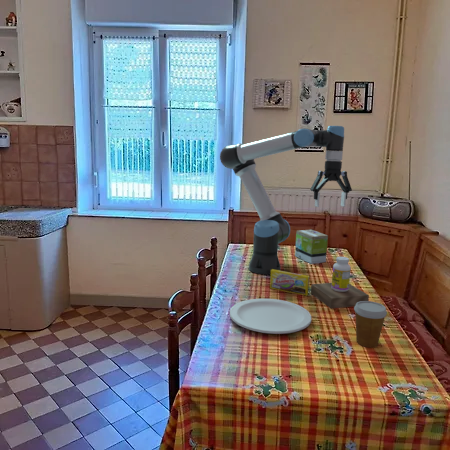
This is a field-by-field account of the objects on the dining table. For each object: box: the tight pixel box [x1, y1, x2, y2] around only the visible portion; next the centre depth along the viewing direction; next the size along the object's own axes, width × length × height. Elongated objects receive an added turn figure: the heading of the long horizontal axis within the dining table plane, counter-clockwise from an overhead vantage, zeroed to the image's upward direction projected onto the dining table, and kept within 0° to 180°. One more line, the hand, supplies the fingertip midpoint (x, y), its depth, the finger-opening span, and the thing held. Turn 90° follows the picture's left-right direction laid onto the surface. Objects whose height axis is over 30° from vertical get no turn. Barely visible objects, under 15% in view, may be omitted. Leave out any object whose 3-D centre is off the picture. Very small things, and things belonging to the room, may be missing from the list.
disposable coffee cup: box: [353, 300, 388, 348], centre depth 127 cm, size 10×10×12 cm
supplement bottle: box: [331, 256, 352, 292], centre depth 162 cm, size 7×7×13 cm
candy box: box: [269, 269, 310, 297], centre depth 171 cm, size 16×2×8 cm, turn 62°
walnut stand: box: [310, 282, 370, 309], centre depth 164 cm, size 16×16×4 cm
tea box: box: [294, 229, 329, 265], centre depth 219 cm, size 15×10×15 cm, turn 25°
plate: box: [229, 298, 312, 335], centre depth 144 cm, size 28×28×2 cm
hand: (329, 206), depth 194 cm, fingers open, 13 cm apart
